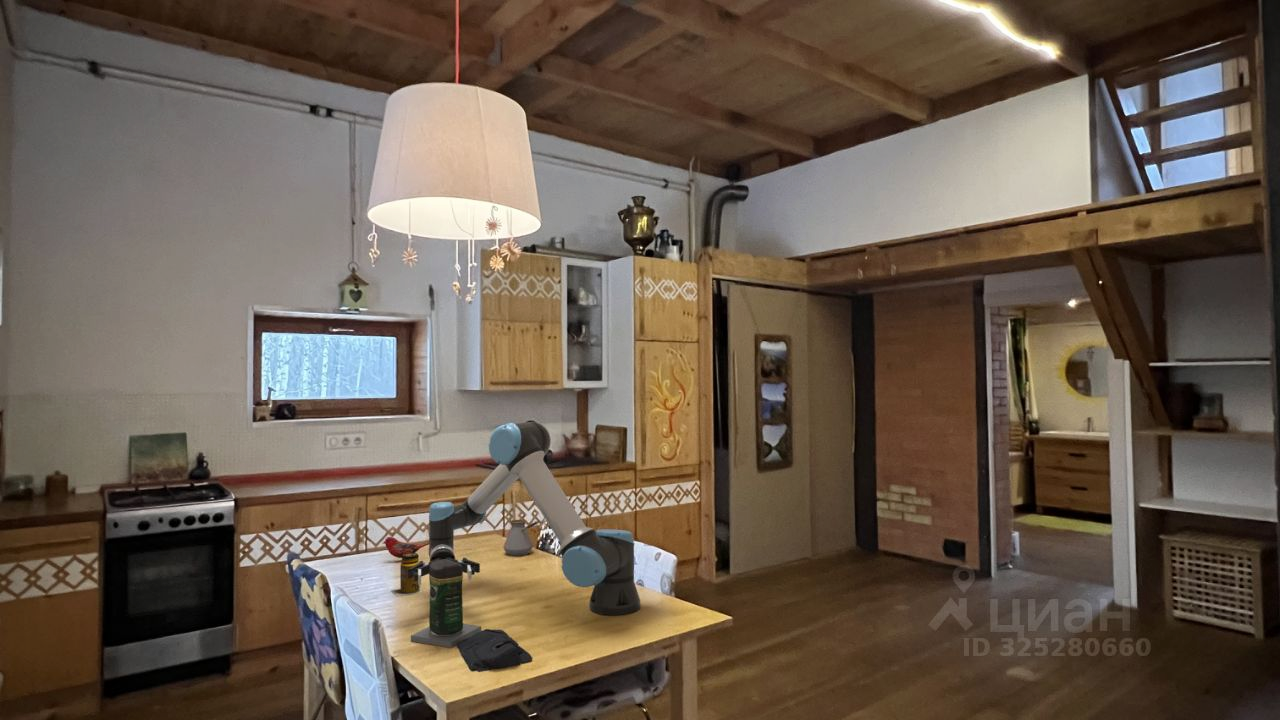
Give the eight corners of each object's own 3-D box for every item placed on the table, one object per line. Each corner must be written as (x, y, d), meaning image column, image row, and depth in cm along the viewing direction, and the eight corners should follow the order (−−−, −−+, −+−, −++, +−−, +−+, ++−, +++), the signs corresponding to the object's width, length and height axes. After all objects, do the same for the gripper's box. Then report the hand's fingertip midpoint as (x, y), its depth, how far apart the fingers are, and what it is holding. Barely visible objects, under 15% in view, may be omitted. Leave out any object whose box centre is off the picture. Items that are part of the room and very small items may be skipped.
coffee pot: (498, 553, 289) (497, 515, 290) (523, 548, 297) (523, 511, 297) (526, 563, 273) (526, 523, 273) (552, 558, 280) (552, 519, 281)
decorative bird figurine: (382, 563, 275) (381, 536, 275) (430, 558, 282) (430, 532, 283) (382, 565, 272) (382, 538, 273) (431, 559, 280) (431, 533, 280)
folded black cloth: (510, 636, 197) (510, 618, 197) (535, 665, 177) (535, 645, 178) (453, 645, 191) (453, 627, 191) (471, 676, 171) (471, 656, 171)
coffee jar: (467, 632, 195) (467, 562, 195) (438, 638, 190) (438, 566, 191) (453, 622, 203) (452, 555, 203) (425, 628, 198) (424, 559, 198)
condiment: (423, 592, 237) (423, 555, 238) (397, 596, 233) (397, 558, 233) (416, 587, 244) (416, 550, 244) (390, 591, 239) (390, 554, 239)
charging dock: (481, 631, 200) (481, 626, 200) (451, 647, 188) (451, 641, 188) (442, 625, 205) (442, 620, 205) (410, 641, 193) (410, 635, 193)
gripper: (483, 568, 228) (490, 587, 208) (399, 575, 221) (398, 595, 200) (483, 544, 228) (490, 560, 208) (399, 550, 221) (398, 567, 201)
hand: (445, 577), depth 204 cm, fingers open, 13 cm apart
